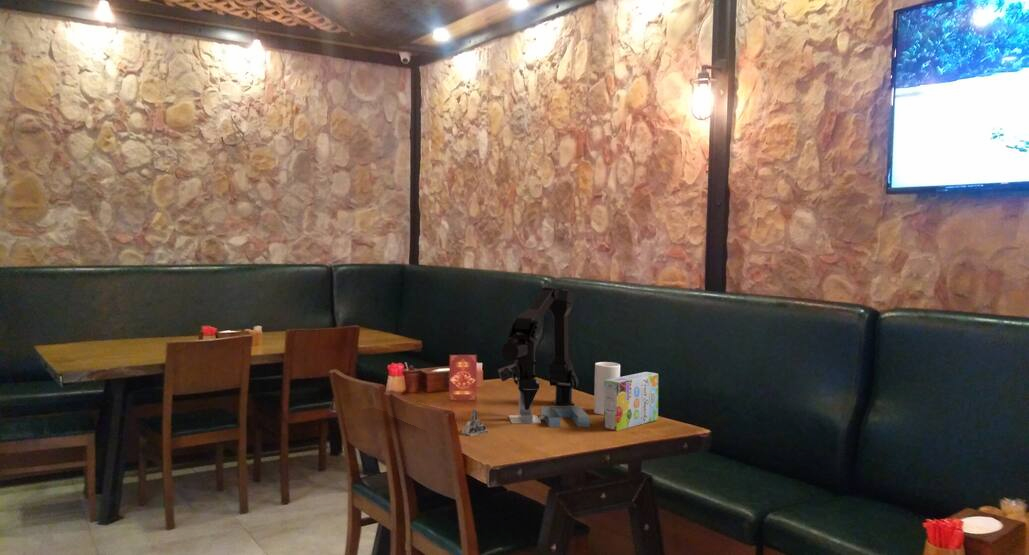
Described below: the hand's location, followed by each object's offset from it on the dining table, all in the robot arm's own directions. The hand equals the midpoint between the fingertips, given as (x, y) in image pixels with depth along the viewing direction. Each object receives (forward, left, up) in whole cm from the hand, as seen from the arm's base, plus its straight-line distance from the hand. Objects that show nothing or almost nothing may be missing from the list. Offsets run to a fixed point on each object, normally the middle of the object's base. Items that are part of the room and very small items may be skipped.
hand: (524, 406), depth 248 cm
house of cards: (+13, -18, -5) cm, 23 cm away
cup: (-10, +28, -5) cm, 31 cm away
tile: (0, 0, -4) cm, 4 cm away
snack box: (+6, +32, -5) cm, 33 cm away
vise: (+3, +12, -4) cm, 14 cm away
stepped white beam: (0, 0, -4) cm, 4 cm away
